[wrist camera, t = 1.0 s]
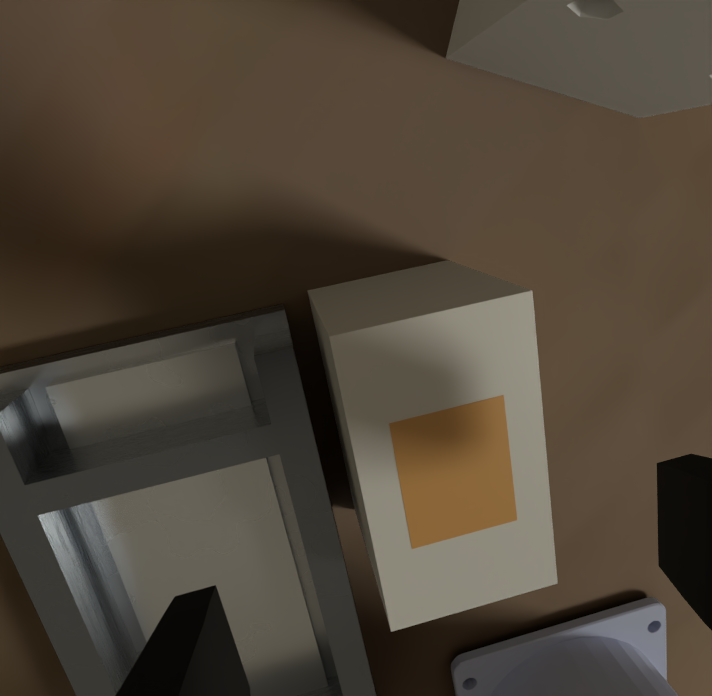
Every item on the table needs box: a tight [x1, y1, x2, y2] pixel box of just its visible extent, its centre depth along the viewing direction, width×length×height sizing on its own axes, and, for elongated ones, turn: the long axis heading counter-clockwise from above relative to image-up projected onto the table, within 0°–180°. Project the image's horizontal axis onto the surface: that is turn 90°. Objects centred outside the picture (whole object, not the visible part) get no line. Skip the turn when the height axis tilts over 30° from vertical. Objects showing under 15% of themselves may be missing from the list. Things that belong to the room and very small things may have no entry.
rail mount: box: [0, 304, 377, 696], centre depth 15 cm, size 15×7×3 cm, turn 11°
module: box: [307, 260, 557, 632], centre depth 14 cm, size 7×4×5 cm, turn 11°
